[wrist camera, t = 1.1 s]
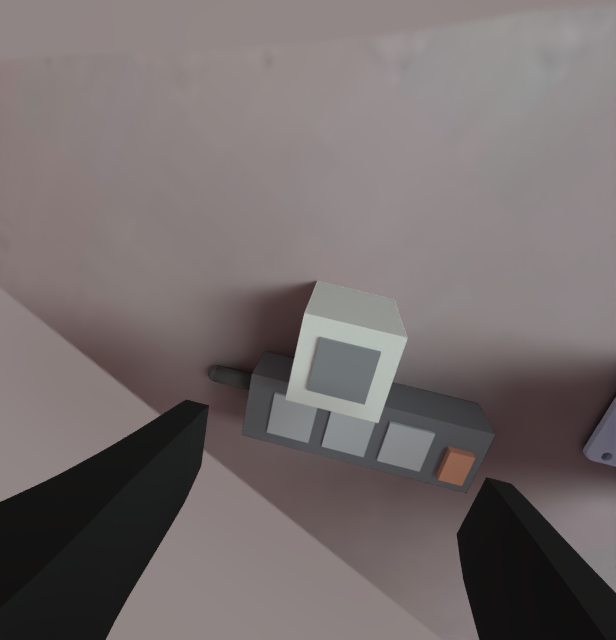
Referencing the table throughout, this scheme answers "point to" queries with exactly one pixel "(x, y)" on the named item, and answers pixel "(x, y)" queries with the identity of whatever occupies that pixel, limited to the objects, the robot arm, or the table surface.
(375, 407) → the charger plug
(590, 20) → the table surface
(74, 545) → the robot arm
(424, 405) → the power strip
